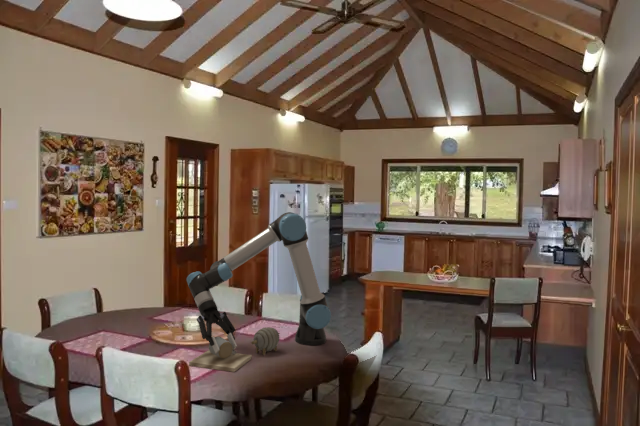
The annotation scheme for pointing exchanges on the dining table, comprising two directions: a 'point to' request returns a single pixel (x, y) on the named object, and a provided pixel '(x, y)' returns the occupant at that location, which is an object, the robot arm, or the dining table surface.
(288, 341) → the dining table surface
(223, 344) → the ceramic mug
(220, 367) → the birch board
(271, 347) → the toy sheep
